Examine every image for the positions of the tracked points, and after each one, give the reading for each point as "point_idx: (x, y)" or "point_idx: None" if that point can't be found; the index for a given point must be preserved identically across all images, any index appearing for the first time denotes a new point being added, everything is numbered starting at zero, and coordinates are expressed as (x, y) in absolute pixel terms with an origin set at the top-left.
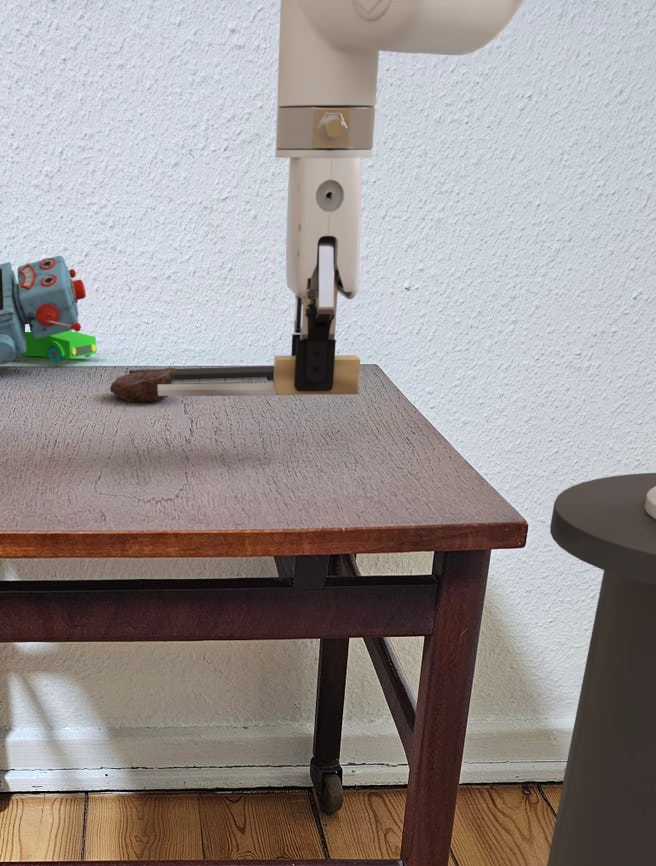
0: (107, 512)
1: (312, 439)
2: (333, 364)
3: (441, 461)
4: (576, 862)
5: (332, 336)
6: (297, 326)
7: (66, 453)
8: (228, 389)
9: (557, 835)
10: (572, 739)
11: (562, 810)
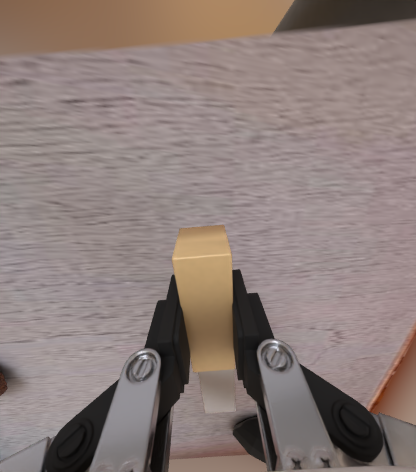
0: (357, 357)
1: (112, 234)
2: (246, 295)
3: (217, 62)
4: None
5: (289, 352)
6: (173, 407)
7: None
8: (233, 369)
9: None
10: (413, 18)
11: None
